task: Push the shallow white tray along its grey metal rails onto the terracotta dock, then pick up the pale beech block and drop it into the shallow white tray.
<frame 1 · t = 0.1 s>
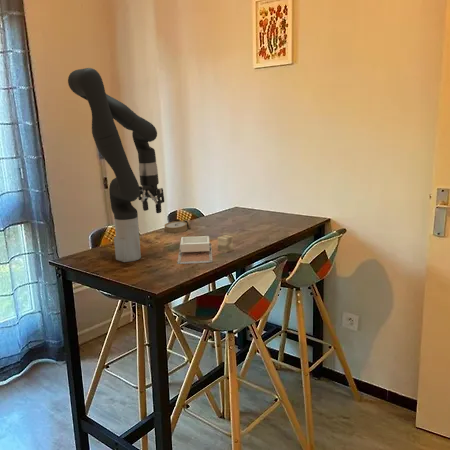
hand: (152, 211, 197), 17 cm above the table, tool pointing down, fingers open, 8 cm apart
shallow white tray: (195, 244, 200), point 3 cm above the table, slide at 0.0 cm
track: (195, 250, 200), on the table
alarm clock: (178, 230, 237), on the table
block: (225, 250, 199), on the table
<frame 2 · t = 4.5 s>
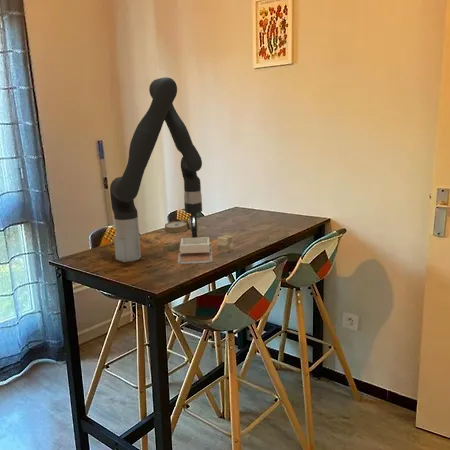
hand: (194, 240, 205), 3 cm above the table, tool pointing down, fingers closed
shallow white tray: (195, 245, 198), point 3 cm above the table, slide at 1.7 cm, touching gripper
everything else where it was.
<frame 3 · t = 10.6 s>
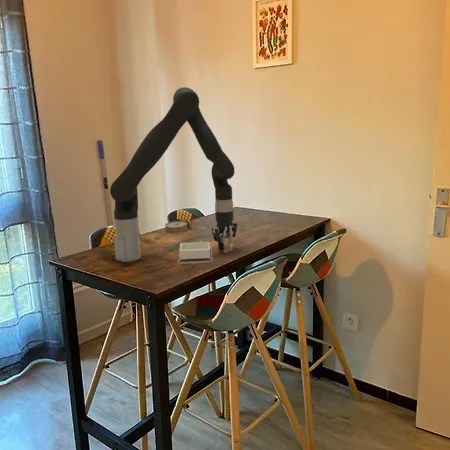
hand: (225, 248, 199), 1 cm above the table, tool pointing down, fingers closed on block, 4 cm apart
shallow white tray: (194, 250, 190), point 3 cm above the table, slide at 9.6 cm
block: (225, 250, 199), on the table, touching gripper
everything else where it was.
when the fingers open (5 cm above the table, at t = 16.3 s): block drops 2 cm, resting on shallow white tray.
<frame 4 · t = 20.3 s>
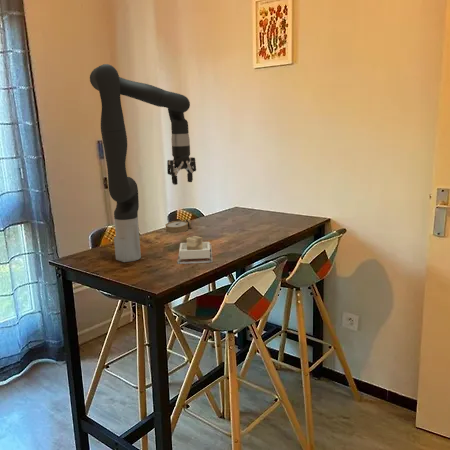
hand: (182, 183, 200), 28 cm above the table, tool pointing down, fingers open, 8 cm apart
shallow white tray: (194, 250, 190), point 3 cm above the table, slide at 9.6 cm, touching block
block: (195, 252, 191), point 2 cm above the table, touching shallow white tray
everything else where it was.
at the end: shallow white tray slide at 9.6 cm; block inside the target area (0.1 cm from its centre), point 2.0 cm above the table; block tilted 0° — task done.
